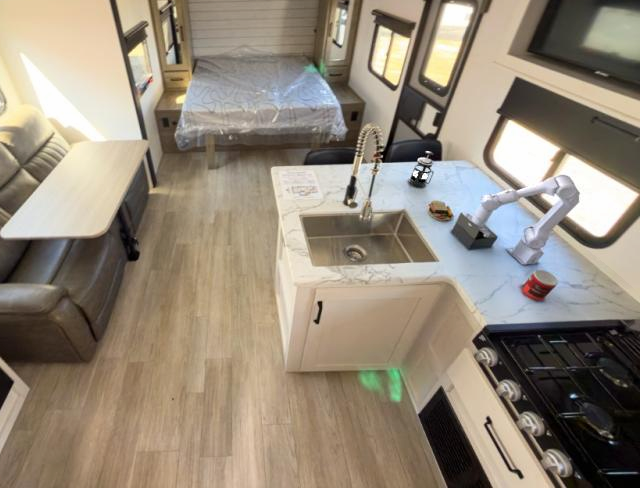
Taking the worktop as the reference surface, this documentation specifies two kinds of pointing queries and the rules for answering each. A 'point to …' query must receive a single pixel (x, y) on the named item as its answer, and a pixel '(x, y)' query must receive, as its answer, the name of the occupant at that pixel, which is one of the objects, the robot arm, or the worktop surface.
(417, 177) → the french press
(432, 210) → the toy sandwich meal
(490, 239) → the grey hinged lid box
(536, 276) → the canned food
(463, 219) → the filter lid
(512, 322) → the worktop surface
